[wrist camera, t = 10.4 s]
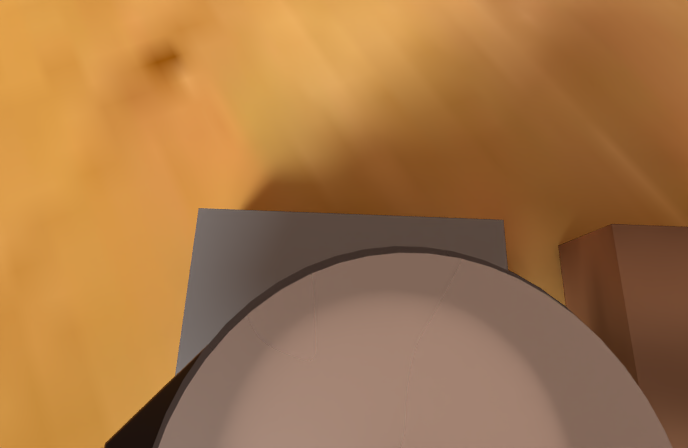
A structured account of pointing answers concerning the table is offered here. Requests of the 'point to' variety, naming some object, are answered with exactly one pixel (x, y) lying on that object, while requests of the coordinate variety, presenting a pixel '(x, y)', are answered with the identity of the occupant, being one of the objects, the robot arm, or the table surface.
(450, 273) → the steel pin
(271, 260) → the rack block
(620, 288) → the socket block
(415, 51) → the table surface
